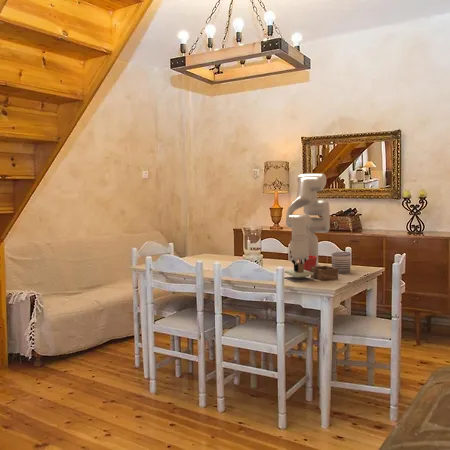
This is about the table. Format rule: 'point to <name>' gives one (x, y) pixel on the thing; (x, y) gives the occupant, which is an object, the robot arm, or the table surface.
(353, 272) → the table surface
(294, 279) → the mat
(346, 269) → the can
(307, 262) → the flower pot
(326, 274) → the box
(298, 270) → the lid
